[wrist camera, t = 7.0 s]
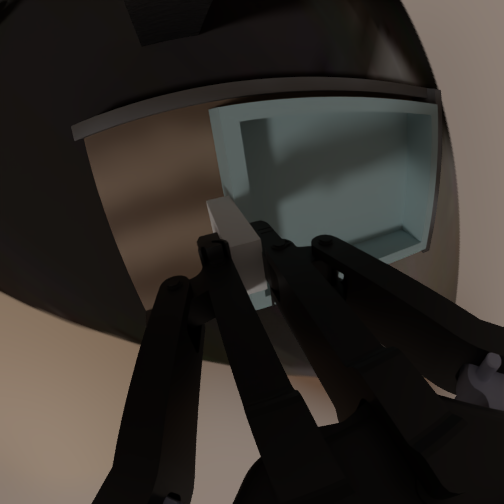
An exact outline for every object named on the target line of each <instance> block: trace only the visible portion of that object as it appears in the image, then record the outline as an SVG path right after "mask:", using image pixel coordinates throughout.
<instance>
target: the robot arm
mask: <svg viewBox="0 0 504 504" xmlns="http://www.w3.org/2000/svg"><path fill="white" fill-rule="evenodd" d="M206 203H207V208H208V212H209V217H210V221H211V226H212V230H213V233H211V234H208V235H204V236H200V237H199V238H198V240H197V246H198V253H199V257H200V260H201V264H202V270H201V272H200V273H199V274H198V275H196V276H195V277H193V278H191V279H188V278H187V277H186V276H183V275H177V276H172V277H170V278H168V279H166V280H165V281H164V282H162V284H161V285H160V287H159V290H158V293H157V296H156V299H155V302H154V305H153V308H152V311H151V314H150V317H149V320H148V323H147V327H146V330H145V333H144V336H143V340H142V343H141V346H140V350H139V353H138V357H137V360H136V364H135V368H134V372H133V375H132V379H131V383H130V386H129V391H128V395H127V398H126V403H125V407H124V411H123V416H122V420H121V425H120V430H119V434H118V439H117V444H116V450H115V456H114V461H113V467H112V469H111V471H110V472H109V474H108V476H107V477H106V479H105V481H104V483H103V484H102V486H101V488H100V490H99V492H98V493H97V495H96V497H95V499H94V500H93V502H92V504H190V502H191V498H192V494H193V489H194V479H195V456H196V434H197V420H198V404H199V391H200V379H201V367H202V356H203V346H204V335H205V323H206V322H208V321H210V320H212V319H213V318H215V317H216V319H217V323H218V326H219V330H220V333H221V337H222V340H223V343H224V347H225V350H226V353H227V357H228V360H229V363H230V366H231V369H232V373H233V376H234V379H235V382H236V385H237V388H238V391H239V394H240V397H241V400H242V403H243V406H244V410H245V414H246V416H247V419H248V422H249V425H250V428H251V431H252V434H253V436H254V439H255V442H256V445H257V447H258V450H259V453H260V455H261V457H260V458H259V459H258V460H257V461H256V462H255V463H254V464H253V465H252V467H251V468H250V469H249V471H248V472H247V474H246V476H245V478H244V480H243V482H242V484H241V486H240V489H239V491H238V493H237V495H236V497H235V500H234V502H233V504H504V327H501V326H498V325H495V324H492V323H489V322H486V321H483V320H480V319H478V318H477V317H475V316H474V315H472V314H471V313H469V312H467V311H466V310H464V309H463V308H461V307H459V306H458V305H456V304H455V303H453V302H451V301H450V300H448V299H447V298H445V297H443V296H442V295H440V294H438V293H437V292H435V291H433V290H432V289H430V288H428V287H427V286H425V285H423V284H421V283H420V282H418V281H416V280H414V279H413V278H411V277H409V276H408V275H406V274H404V273H402V272H400V271H399V270H397V269H395V268H393V267H392V266H390V265H388V264H386V263H384V262H382V261H381V260H379V259H377V258H375V257H373V256H371V255H370V254H368V253H366V252H364V251H362V250H360V249H358V248H356V247H354V246H353V245H351V244H349V243H347V242H345V241H343V240H341V239H339V238H337V237H335V236H332V235H327V234H324V235H319V236H316V237H314V238H313V239H312V241H311V246H303V247H297V246H296V245H295V244H294V243H293V242H292V241H290V240H287V239H282V238H281V237H280V236H279V235H278V234H277V233H276V232H275V231H274V229H273V228H272V227H271V226H270V225H269V224H268V223H267V222H265V221H262V220H259V221H255V222H251V223H249V222H248V221H247V219H246V218H245V217H244V215H243V214H242V213H241V211H240V210H239V209H238V207H237V206H236V204H235V203H234V202H233V200H232V199H231V198H230V196H229V195H228V196H224V197H220V198H216V199H212V200H208V201H206ZM339 272H341V273H342V274H343V275H344V277H343V279H341V278H340V277H338V276H339ZM266 280H267V281H266ZM267 282H268V284H269V285H270V292H271V300H272V306H273V307H275V303H276V305H277V306H278V308H279V310H280V312H281V313H282V315H283V317H284V319H285V320H286V322H287V324H288V326H289V327H290V329H291V331H292V333H293V335H294V336H295V338H296V340H297V342H298V343H299V345H300V347H301V349H302V350H303V352H304V354H305V356H306V357H307V359H308V361H309V363H310V364H311V366H312V368H313V370H314V371H315V373H316V375H317V377H318V378H319V380H320V382H321V384H322V385H323V387H324V389H325V391H326V392H327V394H328V396H329V398H330V399H331V401H332V403H333V405H334V407H335V409H336V413H337V417H338V421H339V423H336V424H331V425H326V426H321V427H318V426H317V424H316V423H315V420H314V418H313V416H312V415H311V413H310V411H309V409H308V407H307V405H306V403H305V401H304V399H303V397H302V396H301V394H300V393H299V391H298V390H294V388H293V387H292V385H291V383H290V381H289V379H288V377H287V375H286V373H285V371H284V369H283V367H282V365H281V363H280V360H279V358H278V356H277V354H276V352H275V350H274V348H273V346H272V344H271V342H270V340H269V338H268V335H267V333H266V331H265V329H264V327H263V325H262V323H261V321H260V319H259V317H258V314H257V312H256V310H255V308H254V306H253V304H252V302H251V299H250V297H249V294H252V293H256V292H259V291H263V290H266V289H268V288H267ZM381 344H382V345H384V346H385V347H386V348H385V347H384V346H382V345H381ZM422 375H423V376H424V377H425V378H427V379H428V380H429V381H431V382H432V383H434V384H435V385H437V386H438V387H440V388H442V389H444V390H446V391H448V392H450V393H453V394H455V395H457V396H456V397H455V399H451V398H448V397H445V396H441V395H438V394H436V393H435V391H434V390H433V389H432V388H431V386H430V385H429V384H428V382H427V381H426V380H425V379H424V378H423V376H422Z"/></svg>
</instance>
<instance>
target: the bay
mask: <svg viewBox="0 0 504 504" xmlns="http://www.w3.org/2000/svg"><path fill="white" fill-rule="evenodd" d="M307 97H369V98H386V99H397V100H407V101H416V102H423V103H430V104H437V106H438V154H437V171H436V183H435V193H434V201H433V209H432V216H431V223H430V229H429V234H428V240H427V245H426V249H424V250H421V251H422V252H423V253H424V252H427V251H429V248H430V244H431V238H432V233H433V228H434V222H435V215H436V209H437V201H438V193H439V184H440V172H441V157H442V101H441V90H437V89H430V88H424V87H418V86H413V85H407V84H401V83H394V82H387V81H378V80H369V79H357V78H341V77H285V78H268V79H256V80H246V81H237V82H230V83H223V84H216V85H210V86H204V87H199V88H193V89H188V90H184V91H179V92H175V93H170V94H166V95H162V96H158V97H154V98H151V99H147V100H143V101H140V102H136V103H133V104H130V105H127V106H124V107H120V108H117V109H114V110H112V111H109V112H106V113H103V114H100V115H98V116H95V117H92V118H90V119H87V120H85V121H82V122H80V123H78V124H75V125H73V126H71V128H72V132H73V137H74V141H76V140H80V139H83V138H84V141H85V145H86V149H87V153H88V157H89V161H90V165H91V168H92V172H93V175H94V179H95V182H96V185H97V189H98V192H99V195H100V198H101V201H102V204H103V207H104V210H105V213H106V216H107V219H108V222H109V225H110V227H111V230H112V233H113V235H114V238H115V241H116V243H117V246H118V248H119V251H120V253H121V256H122V258H123V261H124V263H125V266H126V268H127V270H128V273H129V275H130V277H131V279H132V282H133V284H134V286H135V288H136V290H137V293H138V295H139V297H140V299H141V301H142V303H143V305H144V307H145V309H146V327H147V323H148V320H149V317H150V314H151V311H152V308H153V305H154V302H155V299H156V296H157V293H158V290H159V287H160V285H161V284H162V282H164V281H165V280H166V279H168V278H170V277H172V276H177V275H183V276H186V277H187V278H188V279H191V278H193V277H195V276H196V275H198V274H199V273H200V272H201V270H202V264H201V260H200V257H199V253H198V246H197V240H198V238H199V237H200V236H204V235H208V234H211V233H213V230H212V226H211V221H210V217H209V212H208V208H207V203H206V201H208V200H212V199H216V198H220V197H224V193H223V188H222V183H221V177H220V172H219V166H218V161H217V155H216V150H215V144H214V139H213V133H212V127H211V122H210V116H209V109H213V108H217V107H223V106H229V105H235V104H242V103H250V102H258V101H267V100H277V99H290V98H307ZM215 318H216V317H215Z"/></svg>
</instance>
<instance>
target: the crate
mask: <svg viewBox="0 0 504 504" xmlns="http://www.w3.org/2000/svg"><path fill="white" fill-rule="evenodd" d="M209 116H210V122H211V127H212V133H213V139H214V144H215V150H216V155H217V161H218V166H219V172H220V177H221V183H222V188H223V193H224V196H228V195H229V196H230V198H231V199H232V200H233V202H234V203H235V204H236V206H237V207H238V209H239V210H240V211H241V213H242V214H243V215H244V217H245V218H246V219H247V221H248V222H249V223H251V222H255V221H259V220H262V221H265V222H267V223H268V224H269V225H270V226H271V227H272V228H273V229H274V231H275V232H276V233H277V234H278V235H279V236H280V237H281V238H282V239H287V240H290V241H292V242H293V243H294V244H295V245H296V246H297V247H303V246H311V241H312V239H313V238H314V237H316V236H319V235H324V234H327V235H332V236H335V237H337V238H339V239H341V240H343V241H345V242H347V243H349V244H351V245H353V246H354V247H356V248H358V249H360V250H362V251H364V252H366V253H368V254H370V255H371V256H373V257H375V258H377V259H379V260H381V261H382V262H384V263H386V264H390V263H392V262H395V261H397V260H400V259H402V258H405V257H407V256H409V255H412V254H414V253H417V252H419V251H421V250H424V249H426V245H427V240H428V234H429V229H430V223H431V216H432V209H433V201H434V193H435V183H436V171H437V154H438V106H437V104H430V103H423V102H416V101H407V100H397V99H386V98H369V97H307V98H290V99H277V100H267V101H258V102H250V103H242V104H235V105H229V106H223V107H217V108H213V109H209ZM338 277H340V278H341V279H343V277H344V275H343V274H342V273H341V272H339V276H338ZM266 281H267V280H266ZM267 288H268V289H266V290H263V291H259V292H256V293H252V294H249V297H250V299H251V302H252V304H253V306H254V308H255V310H258V309H262V308H265V307H268V306H271V305H272V300H271V292H270V285H269V284H268V282H267ZM275 304H276V303H275Z"/></svg>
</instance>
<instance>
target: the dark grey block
mask: <svg viewBox="0 0 504 504" xmlns="http://www.w3.org/2000/svg"><path fill="white" fill-rule="evenodd" d="M124 2H125V5H126V8H127V10H128V13H129V15H130V18H131V21H132V23H133V26H134V28H135V31H136V33H137V36H138V38H139V41H140V43H141V46H142V47H143V46H146V45H150V44H155V43H159V42H163V41H168V40H173V39H178V38H183V37H189V36H196V35H198V34H199V32H200V29H201V27H202V24H203V22H204V19H205V17H206V14H207V12H208V10H209V7H210V5H211V3H212V0H124Z"/></svg>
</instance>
